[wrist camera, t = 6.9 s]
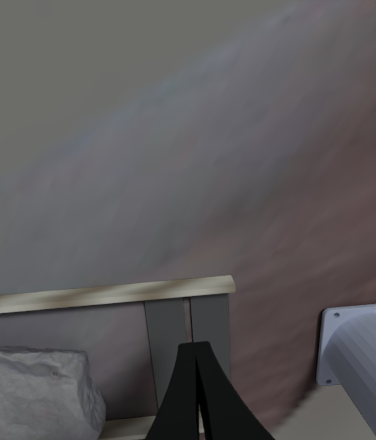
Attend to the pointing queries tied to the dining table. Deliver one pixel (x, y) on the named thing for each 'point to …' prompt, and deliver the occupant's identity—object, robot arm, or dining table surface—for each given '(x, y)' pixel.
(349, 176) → the dining table surface
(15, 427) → the stone block
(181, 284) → the grey cream flat frame
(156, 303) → the tiles
